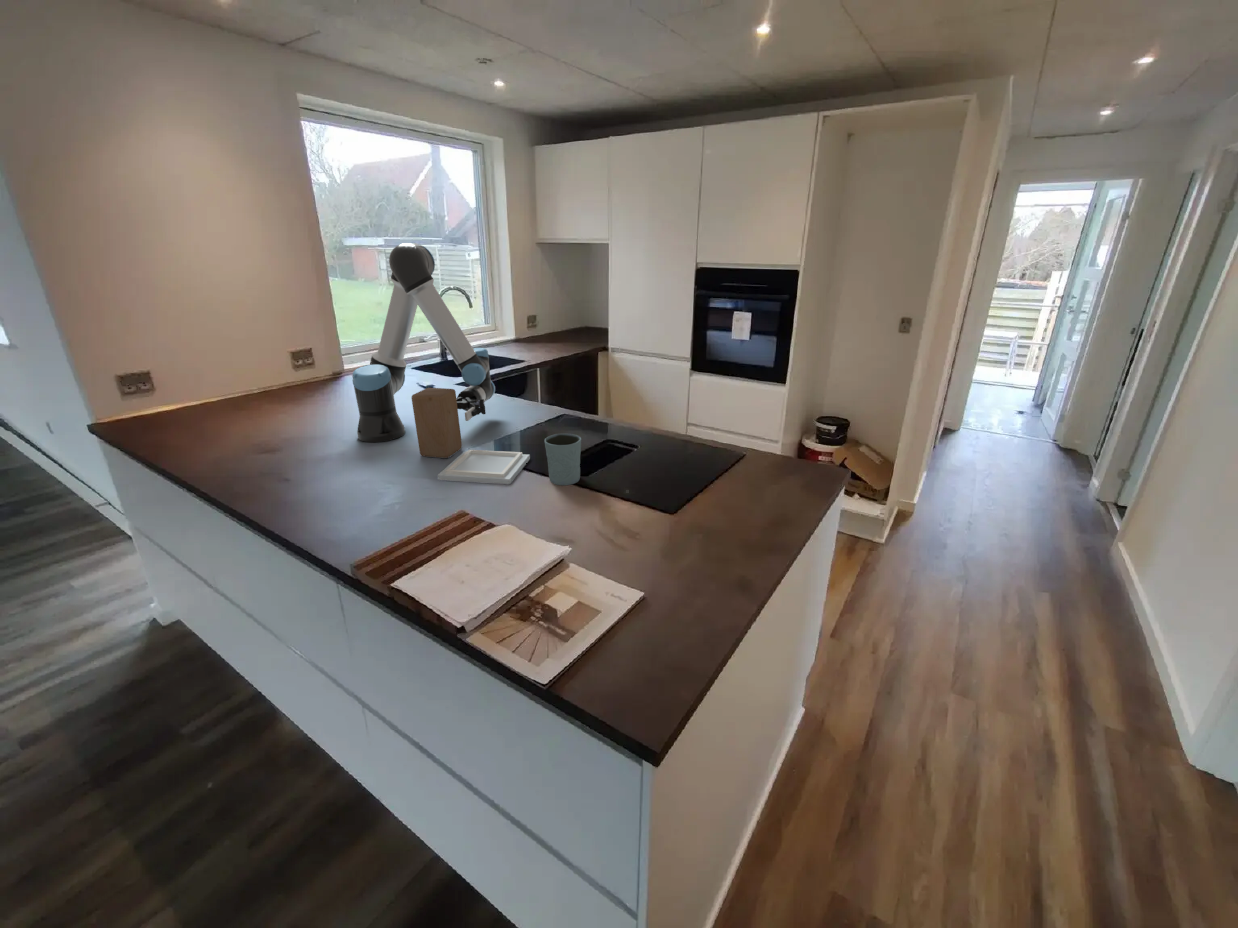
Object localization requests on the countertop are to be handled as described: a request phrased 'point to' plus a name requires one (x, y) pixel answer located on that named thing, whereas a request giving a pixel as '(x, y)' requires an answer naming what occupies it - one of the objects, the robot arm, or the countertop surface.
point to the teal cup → (563, 458)
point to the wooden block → (437, 422)
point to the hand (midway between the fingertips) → (445, 416)
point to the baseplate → (485, 467)
